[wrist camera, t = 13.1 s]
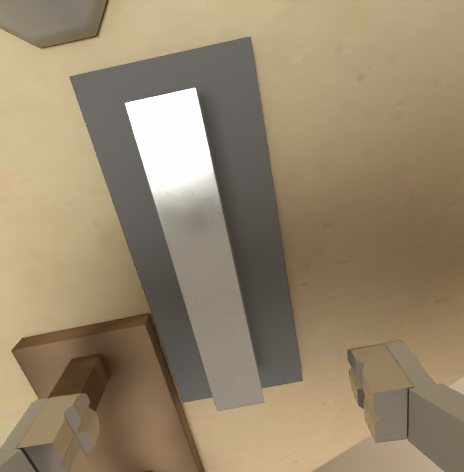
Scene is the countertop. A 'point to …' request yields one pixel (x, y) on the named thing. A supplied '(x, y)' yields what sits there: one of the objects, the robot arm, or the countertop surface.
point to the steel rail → (199, 240)
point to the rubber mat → (232, 189)
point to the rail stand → (116, 393)
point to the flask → (51, 20)
